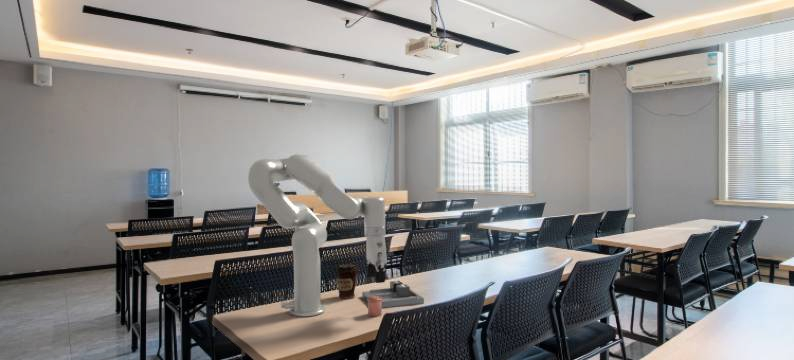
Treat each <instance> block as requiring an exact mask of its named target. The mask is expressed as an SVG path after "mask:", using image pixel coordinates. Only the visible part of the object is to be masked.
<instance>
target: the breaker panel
mask: <svg viewBox="0 0 794 360" xmlns="http://www.w3.org/2000/svg"><path fill="white" fill-rule="evenodd" d="M404 284H405V283H404ZM404 284H403V282H402V281H400V280H393V281H390V282H389V287H388V288H387V287H385V288H376V289H370V290H369V291H368V290H367V291H362V292H361V293H362V295H361V296H362V297H361V298H363V299H364V301H366V302H367V303H368V300H367V298H368V297H370V296H380V297H382V300H381V309H384V308H385V307H386V308H394V307H402V306H411V305H420V304H421V305H422V304H425V298H424V297H423V296H421V295H420V294H419V293H418V292H416V291H414V290H413V289H412V288H410V297H402V298H399V297H398V296H397V295H396V285H404Z"/></svg>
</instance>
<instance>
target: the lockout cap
mask: <svg viewBox="0 0 794 360" xmlns="http://www.w3.org/2000/svg"><path fill="white" fill-rule="evenodd" d="M367 300H368V302H367V316H369V317H371V318H377V317H380V316H382V308H381V300H382V297H380V296H370V297H368V298H367Z"/></svg>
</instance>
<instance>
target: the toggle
mask: <svg viewBox="0 0 794 360" xmlns="http://www.w3.org/2000/svg"><path fill="white" fill-rule="evenodd" d="M410 289H411V288H410V286H409V285H408V284H405V283H404V285H396V295H397V296H398V297H399V298H402V297H410Z"/></svg>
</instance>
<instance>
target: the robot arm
mask: <svg viewBox="0 0 794 360" xmlns="http://www.w3.org/2000/svg"><path fill="white" fill-rule="evenodd" d="M247 180H248V185H249V188H250V190H251V192H252V194H253V195H254V196H255V198H256V199H257V200H258V201H259V202H260V203H261V204H262V205H263V207H264V209H266V210H267V212H268V213H269V214H270V215H271V216H272V217H273V219H274V220H275V221H276V222H277V224H278V225H279V226H280V227H282V228H283V229H287V230H288V229H289V230H290V229H293V228H294V230H295V231H294V232H293V234H292V237H291V248H292V249H291V250H292V255H293V282H294V283H293V298H292V299H291V300H289V302H288V301H287V302H286V301H283V302H280V308H281V309H286V310H287V309H289V314H291V315H292V316H296V317H314V316H317V315H321V314H323V313H324V312H325V311H326V306H325V305H323V304H321V301H322V299H321V298H322V297H321V296H322V295H321V294H322V293H321V291H322V290H321V288H322V287H321V285H322V284H321V280H322V279H321V278H322V277H321V256H320V251H319V250H320V249H319V248H320V247H321V246H322V245H324V244H325V243H326V241H327V240H328V239H327V238H328V231H327V229H326V227H325V225H324V224H323V223H322V221H321V220H320V219H319V218H318V217H317V216H316V215H315V213H314V212H313V211H312V210H311V209H310V208H309V207H308V206H307V205H306V204H305V203H303V202H300V201H292V200H291V199H290V198H289V197H288V196H287V195H286V194H285V193H284V191H283V190H282V189H281V188H280V187H279V186H278V185H276V184H275V182H282V181H290V180H295V181H296V182H298V183H300V184H301V185H302V186H304V187H305V188H306V189H307V190H309V191H311V193H313V194H315V196H316V197H317V199H319V200H320V202H322V203H323V204H324V205H325V206H326V207H328V208H329V209H330V210H331V211H333V212H334V213H335V214H337V215H338V216H339V217H341V218H343V219H346V220H353V219H355V218H359V217H362V216H363V224H364V225H363V226H364V227H363V228H364V229H363V230H364V231H363V233H364V234H363V235H364V237H365V238H366V241H365V242H366V245H365V249H366V250H365V252H366V253H365V254H366V260H367V263H366V264H367V270H366V271H367V277H368V278H373V277H375V283H376V284H380V283H381V284H383V283H385V281H386V276H385V275H386V272H385V270H386V268H385V267H386V264H387V263H388V262H387V261H388V260H387V259H388V258H387V257H388V256H387V246H386V239H385V236H386V233H387V232H386V201H385V199H384V197H381V196H369V197H363V196H362V197H361V196H349V194H347V193H346V192H344V191H343V190H341V189H340V188H339V187H338V186H337V185H335V183H334V181H333V179H332V177H331V175H330V174H329V173H327V172H326V171H324V170H322V169H321V168H320V167H318V165H316V163H315V161H314V160H313V158H312V157H310V156H308V155H305V154H298V153H297V154H293V155H290V156H288V157H287V158H281V159H279V158H278V159H275V158H274V159H273V158H271V159H270V158H262V159H258V160H257V161H254V163H253V164H252V165H251V166H250V167H249V171H248V174H247Z"/></svg>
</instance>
